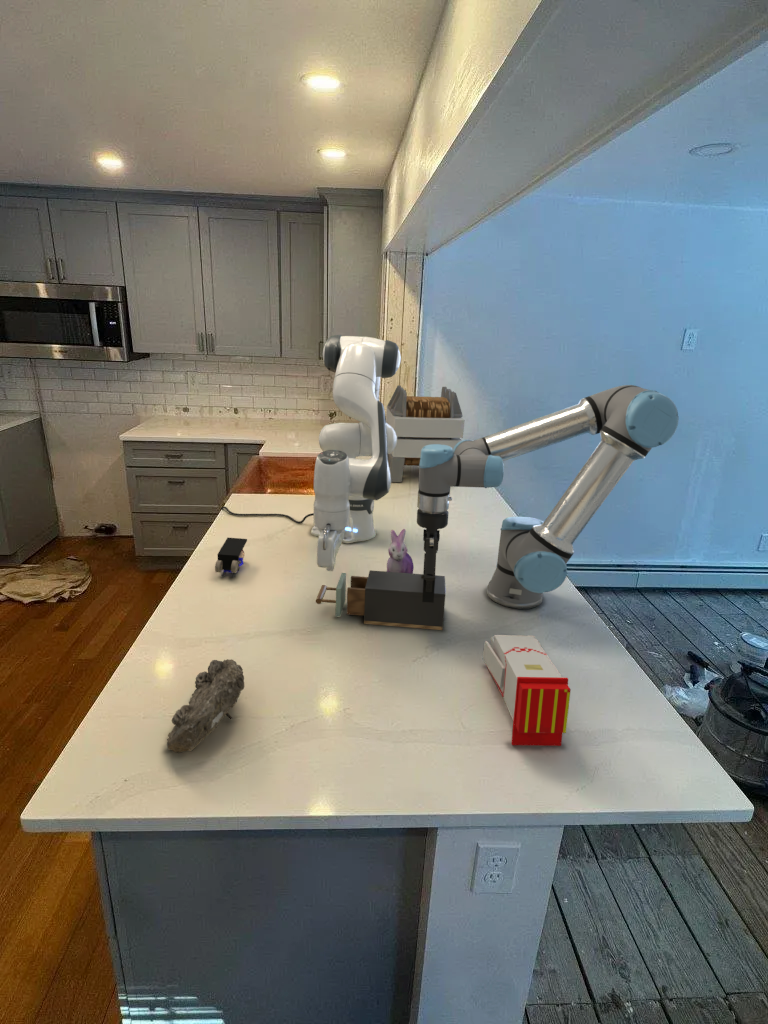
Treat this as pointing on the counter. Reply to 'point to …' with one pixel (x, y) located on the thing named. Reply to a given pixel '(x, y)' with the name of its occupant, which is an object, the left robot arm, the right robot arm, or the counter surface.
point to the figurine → (399, 555)
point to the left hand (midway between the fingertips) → (331, 568)
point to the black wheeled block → (230, 556)
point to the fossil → (206, 705)
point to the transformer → (421, 426)
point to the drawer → (353, 595)
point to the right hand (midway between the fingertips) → (428, 588)
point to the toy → (529, 689)
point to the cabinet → (403, 601)
